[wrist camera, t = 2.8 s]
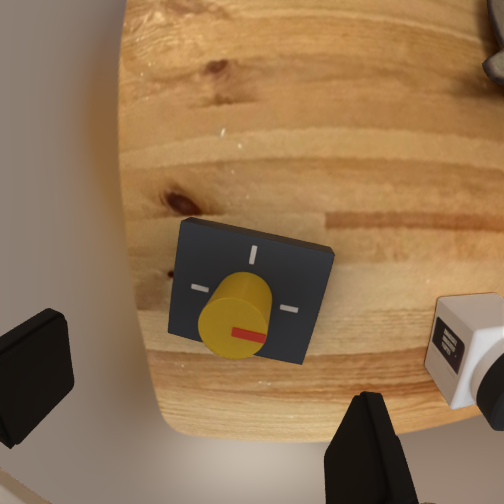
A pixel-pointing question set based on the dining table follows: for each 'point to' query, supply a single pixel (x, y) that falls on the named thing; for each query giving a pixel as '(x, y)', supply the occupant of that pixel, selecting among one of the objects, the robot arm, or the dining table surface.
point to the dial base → (256, 262)
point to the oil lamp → (499, 65)
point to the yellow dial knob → (237, 316)
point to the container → (470, 353)
